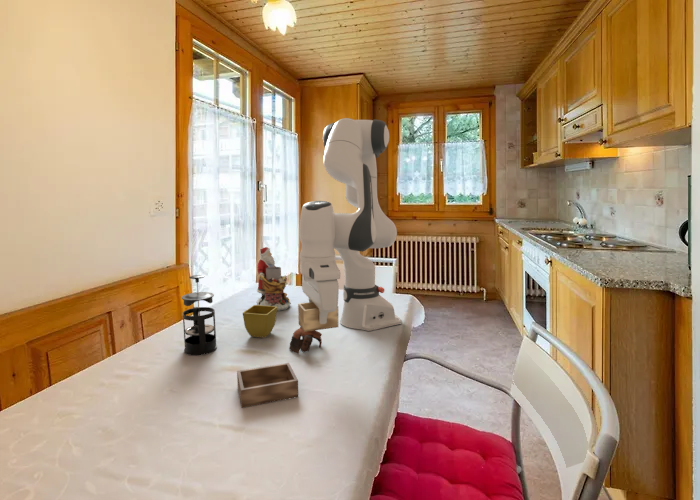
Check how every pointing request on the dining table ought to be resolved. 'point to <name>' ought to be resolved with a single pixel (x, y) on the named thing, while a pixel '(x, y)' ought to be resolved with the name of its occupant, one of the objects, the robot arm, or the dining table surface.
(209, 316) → the french press
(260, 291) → the santa figurine
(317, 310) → the small crate
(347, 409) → the dining table surface
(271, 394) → the big crate
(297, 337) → the pottery mug
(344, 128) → the robot arm
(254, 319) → the flower pot
